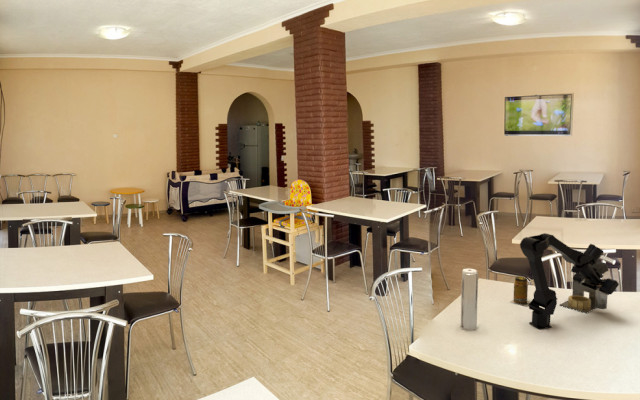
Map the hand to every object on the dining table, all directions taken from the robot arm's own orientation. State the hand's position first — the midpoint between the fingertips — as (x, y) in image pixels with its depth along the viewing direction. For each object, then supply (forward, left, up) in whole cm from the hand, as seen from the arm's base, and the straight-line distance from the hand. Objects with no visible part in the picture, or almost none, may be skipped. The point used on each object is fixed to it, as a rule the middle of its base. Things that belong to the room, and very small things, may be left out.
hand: (603, 292), depth 207 cm
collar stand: (-2, +10, -10) cm, 14 cm away
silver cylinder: (-64, +5, -10) cm, 65 cm away
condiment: (-25, +22, -10) cm, 35 cm away
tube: (-1, 0, -7) cm, 7 cm away
